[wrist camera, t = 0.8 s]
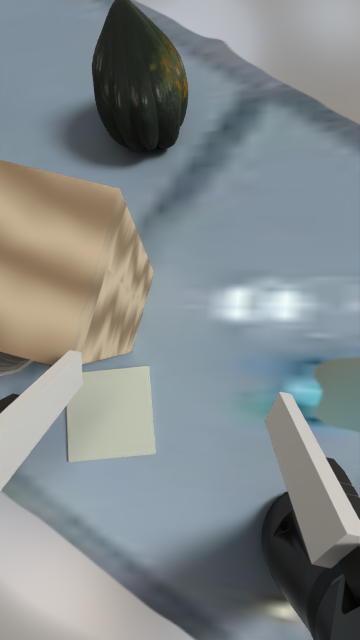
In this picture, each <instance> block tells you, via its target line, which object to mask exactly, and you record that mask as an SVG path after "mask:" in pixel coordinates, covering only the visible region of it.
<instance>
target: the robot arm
mask: <svg viewBox="0 0 360 640" xmlns="http://www.w3.org/2000/svg"><path fill="white" fill-rule="evenodd" d="M82 384H83V378H82V359H81V352H77V351H72V350H69V351H68V352H67V353H66V354H65V355H64V356H63V357H62V358H61V359H59V360H58V361H57V362H56V363H55V364H54V365H53V366H52V367H51V368H50V369H48V370H47V371H46V372H45V373H44V374H43V375H42V376H41V377H40V378H39V379H38V380H36V381H35V382H34V383H33V384H32V385H31V386H30V387H29V388H28V389H27V390H25V391H24V392H23V393H22V394H21V395H17V394H11V395H9V396H7V397H5V398H3V399H2V400H0V491H1V490H2V488H3V487H4V486H5V485H6V483H7V482H8V481H9V479H10V478H11V477H12V475H13V474H14V473H15V472H16V470H17V469H18V468H19V466H20V465H21V464H22V462H23V461H24V460H25V459H26V457H27V456H28V455H29V453H30V452H31V451H32V449H33V448H34V447H35V446H36V444H37V443H38V442H39V440H40V439H41V438H42V436H43V435H44V434H45V433H46V431H47V430H48V429H49V427H50V426H51V425H52V423H53V422H54V421H55V420H56V418H57V417H58V416H59V414H60V413H61V412H62V410H63V409H64V408H65V407H66V405H67V404H68V403H69V401H70V400H71V399H72V397H73V396H74V395H75V394H76V392H77V391H78V390H79V388H80V387H81V386H82ZM265 423H266V427H267V430H268V433H269V436H270V439H271V442H272V445H273V448H274V451H275V454H276V457H277V460H278V463H279V466H280V469H281V472H282V475H283V478H284V481H285V484H286V487H287V490H288V493H287V494H285V495H283V496H282V497H281V498H279V499H278V500H277V501H276V502H275V503H274V504H273V506H272V507H271V508H270V510H269V512H268V514H267V516H266V518H265V521H264V525H263V530H262V546H263V552H264V555H265V558H266V561H267V564H268V566H269V569H270V571H271V574H272V576H273V578H274V580H275V582H276V584H277V586H278V587H279V589H280V590H281V592H282V593H283V595H284V596H285V597H286V599H287V600H288V602H289V603H290V605H291V606H292V607H293V609H294V610H295V612H296V613H297V614H298V616H299V617H300V618H301V620H302V621H303V623H304V624H305V625H306V627H307V628H308V630H309V631H310V633H311V635H312V637H313V639H314V640H360V498H359V497H358V494H357V492H356V490H355V489H354V487H353V486H352V484H351V482H350V480H349V479H348V477H347V475H346V473H345V472H344V470H343V469H342V468H341V467H340V466H339V465H338V464H337V462H336V461H335V460H334V459H331V458H327V457H325V456H324V454H323V452H322V450H321V448H320V446H319V445H318V443H317V441H316V439H315V437H314V435H313V433H312V432H311V430H310V428H309V426H308V424H307V422H306V421H305V419H304V417H303V415H302V413H301V411H300V410H299V408H298V406H297V404H296V402H295V400H294V398H293V397H292V395H291V394H288V393H283V392H279V393H278V395H277V397H276V399H275V401H274V403H273V405H272V407H271V409H270V411H269V413H268V415H267V417H266V419H265Z"/></svg>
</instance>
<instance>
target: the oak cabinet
mask: <svg viewBox="0 0 360 640" xmlns="http://www.w3.org/2000/svg"><path fill="white" fill-rule="evenodd" d="M153 274H154V272H153V269H152V267H151V264H150V262H149V259H148V257H147V255H146V252H145V250H144V247H143V245H142V242H141V240H140V237H139V235H138V233H137V230H136V228H135V225H134V223H133V220H132V218H131V216H130V213H129V211H128V208H127V206H126V203H125V201H124V198H123V196H122V194H121V191H120V189H119V188H114V187H110V186H106V185H102V184H98V183H94V182H89V181H85V180H81V179H77V178H73V177H68V176H64V175H60V174H56V173H52V172H48V171H43V170H39V169H35V168H31V167H27V166H23V165H18V164H14V163H10V162H6V161H2V160H0V352H4V353H7V354H11V355H15V356H18V357H22V358H26V359H29V360H33V361H37V362H40V363H44V364H48V365H51V366H53V365H54V364H55V363H56V362H57V361H58V360H59V359H61V358H62V357H63V356H64V355H65V354H66V353H67V352H68V351H69V350H72V351H77V352H81V359H82V364H85V363H89V362H93V361H97V360H101V359H105V358H110V357H114V356H118V355H122V354H126V353H130V352H132V349H133V345H134V342H135V338H136V335H137V331H138V328H139V324H140V320H141V317H142V313H143V310H144V306H145V303H146V299H147V295H148V292H149V288H150V285H151V281H152V278H153Z"/></svg>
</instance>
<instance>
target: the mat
mask: <svg viewBox="0 0 360 640" xmlns="http://www.w3.org/2000/svg"><path fill="white" fill-rule="evenodd" d="M82 378H83V384H82V386H81V387H80V388H79V390H78V391H77V392H76V394H75V395H74V396H73V397H72V399H71V400H70V401H69V403H68V404H67V430H68V457H69V462H77V461H87V460H97V459H108V458H118V457H129V456H139V455H149V454H155V453H156V450H155V437H154V424H153V412H152V399H151V386H150V373H149V366H139V367H129V368H118V369H108V370H97V371H87V372H82Z"/></svg>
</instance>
